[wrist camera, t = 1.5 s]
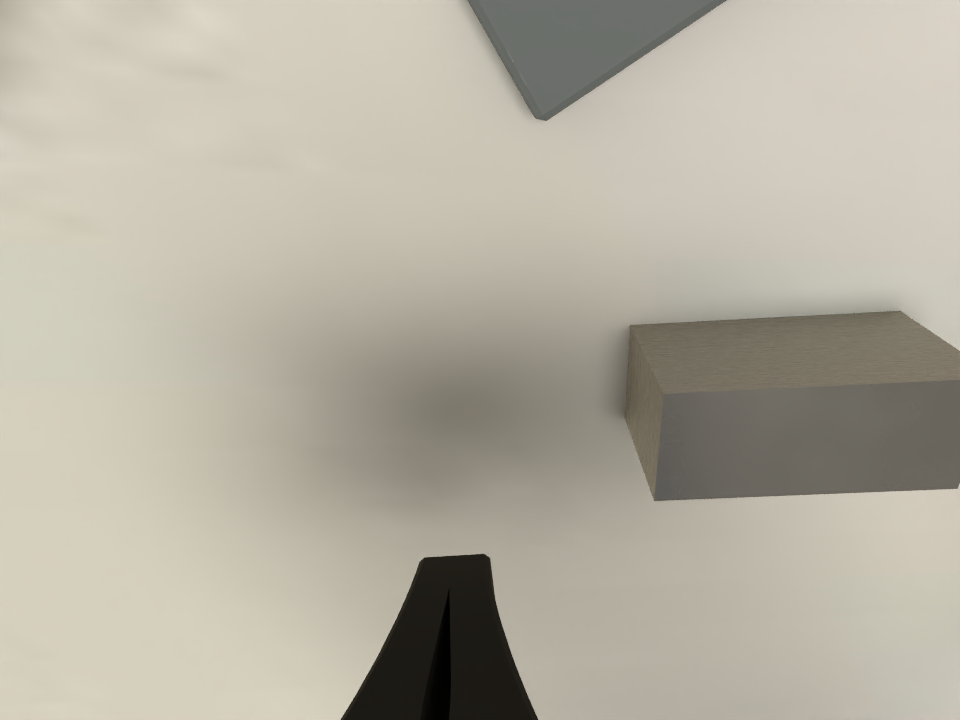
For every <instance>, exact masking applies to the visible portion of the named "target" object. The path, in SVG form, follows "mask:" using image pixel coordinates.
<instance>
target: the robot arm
mask: <svg viewBox="0 0 960 720" xmlns="http://www.w3.org/2000/svg"><path fill="white" fill-rule="evenodd" d="M341 720H538V718H537V716H536V714H535V712H534V709H533V707H532V705H531V702H530V700H529V698H528V695H527V693H526V691H525V688H524V686H523V683H522V681H521V678H520V676H519V673H518V670H517V668H516V665H515V662H514V660H513V657H512V654H511V651H510V648H509V645H508V642H507V639H506V636H505V633H504V630H503V627H502V624H501V620H500V617H499V613H498V609H497V605H496V601H495V595H494V587H493V579H492V570H491V562H490V558H489V557H488V556H486V555H485V554H476V555H460V556H443V557H427V558H423V559H422V560H421V561H420V563H419V565H418V568H417V571H416V574H415V577H414V579H413V582H412V584H411V587H410V589H409V592H408V594H407V597H406V599H405V601H404V603H403V606H402V608H401V610H400V612H399V614H398V617H397V619H396V621H395V623H394V625H393V627H392V629H391V631H390V633H389V635H388V637H387V639H386V641H385V643H384V645H383V647H382V649H381V651H380V653H379V655H378V657H377V659H376V660H375V662H374V664H373V666H372V667H371V669H370V671H369V673H368V674H367V676H366V678H365V680H364V682H363V683H362V685H361V687H360V689H359V690H358V692H357V694H356V696H355V697H354V699H353V701H352V702H351V704H350V705H349V707H348V709H347V710H346V712H345V714H344V715H343V717H342V718H341Z"/></svg>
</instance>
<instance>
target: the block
mask: <svg viewBox="0 0 960 720" xmlns="http://www.w3.org/2000/svg"><path fill="white" fill-rule="evenodd" d="M625 419H626V422H627V425H628V428H629V431H630V434H631V436H632V439H633V442H634V445H635V448H636V451H637V453H638V456H639V459H640V462H641V465H642V468H643V470H644V473H645V476H646V479H647V482H648V485H649V487H650V490H651V493H652V496H653V499H654V501H662V500H687V499H712V498H737V497H762V496H787V495H811V494H836V493H861V492H886V491H911V490H936V489H957V488H958V486H959V483H960V351H959V350H957V349H956V348H955V347H953V346H952V345H950V344H949V343H947V342H946V341H944V340H943V339H941V338H940V337H938V336H937V335H935V334H934V333H932V332H931V331H929V330H928V329H926V328H925V327H923V326H922V325H920V324H919V323H917V322H916V321H914V320H913V319H911V318H910V317H908V316H907V315H905V314H904V313H902V312H901V311H892V312H872V313H853V314H834V315H815V316H796V317H777V318H758V319H739V320H720V321H701V322H682V323H662V324H643V325H630V340H629V358H628V376H627V394H626V413H625Z"/></svg>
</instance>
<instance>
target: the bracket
mask: <svg viewBox="0 0 960 720" xmlns="http://www.w3.org/2000/svg"><path fill="white" fill-rule="evenodd" d="M468 1H469V3H470V5H471V7H472V8H473V10H474V12H475V14H476V15H477V17H478V19H479V21H480V22H481V24H482V26H483V28H484V29H485V31H486V33H487V35H488V36H489V38H490V40H491V42H492V44H493V45H494V47H495V49H496V51H497V52H498V54H499V56H500V58H501V59H502V61H503V63H504V65H505V66H506V68H507V70H508V72H509V73H510V75H511V77H512V79H513V80H514V82H515V84H516V86H517V87H518V89H519V91H520V93H521V94H522V96H523V98H524V100H525V101H526V103H527V105H528V107H529V108H530V110H531V112H532V114H533V115H534V117H535V118H536V119H540V120H545V121H547V120H548V119H550V118H551V117H553V116H554V115H556V114H557V113H559V112H560V111H562V110H563V109H565V108H566V107H568V106H569V105H571V104H572V103H574V102H575V101H577V100H578V99H580V98H581V97H583V96H584V95H586V94H587V93H589V92H590V91H592V90H593V89H595V88H596V87H598V86H599V85H601V84H602V83H604V82H605V81H607V80H608V79H610V78H611V77H613V76H614V75H616V74H617V73H619V72H620V71H622V70H623V69H625V68H626V67H628V66H629V65H631V64H632V63H634V62H635V61H637V60H638V59H639V58H641V57H642V56H644V55H645V54H647V53H648V52H650V51H651V50H653V49H654V48H656V47H657V46H659V45H660V44H662V43H663V42H665V41H666V40H668V39H669V38H671V37H672V36H674V35H675V34H677V33H678V32H680V31H681V30H683V29H684V28H686V27H687V26H689V25H690V24H692V23H693V22H695V21H696V20H698V19H699V18H701V17H702V16H704V15H705V14H707V13H708V12H710V11H711V10H713V9H714V8H716V7H717V6H719V5H720V4H722V3H723V2H725V1H726V0H468Z"/></svg>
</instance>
